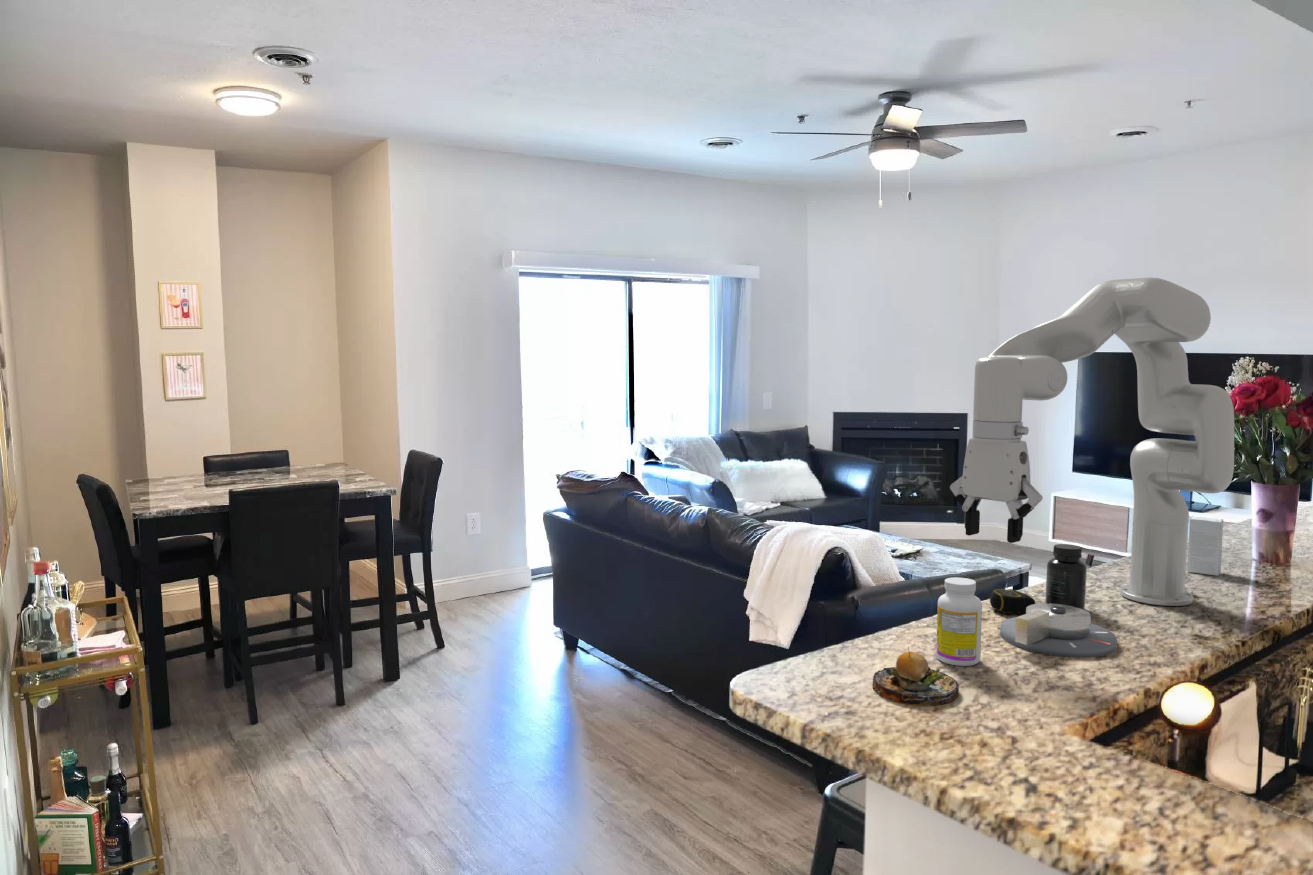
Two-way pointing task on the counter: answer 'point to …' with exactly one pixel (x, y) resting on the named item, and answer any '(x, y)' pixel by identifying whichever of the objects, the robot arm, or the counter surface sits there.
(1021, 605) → the tape measure
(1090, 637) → the base plate
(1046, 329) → the robot arm
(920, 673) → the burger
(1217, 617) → the counter surface
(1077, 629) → the dial
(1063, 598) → the supplement bottle
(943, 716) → the counter surface
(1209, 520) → the skincare box
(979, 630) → the supplement bottle
